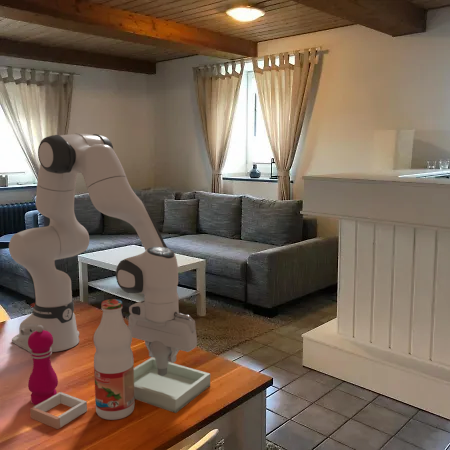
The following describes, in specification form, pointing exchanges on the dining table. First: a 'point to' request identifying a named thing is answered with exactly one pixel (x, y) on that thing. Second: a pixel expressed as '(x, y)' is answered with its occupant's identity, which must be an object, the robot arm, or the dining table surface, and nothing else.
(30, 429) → the dining table surface
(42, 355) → the pepper mill
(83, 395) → the dining table surface
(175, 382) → the tray
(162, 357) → the lightbulb
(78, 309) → the dining table surface
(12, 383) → the dining table surface
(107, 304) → the white plastic bottle
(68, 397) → the socket collar
